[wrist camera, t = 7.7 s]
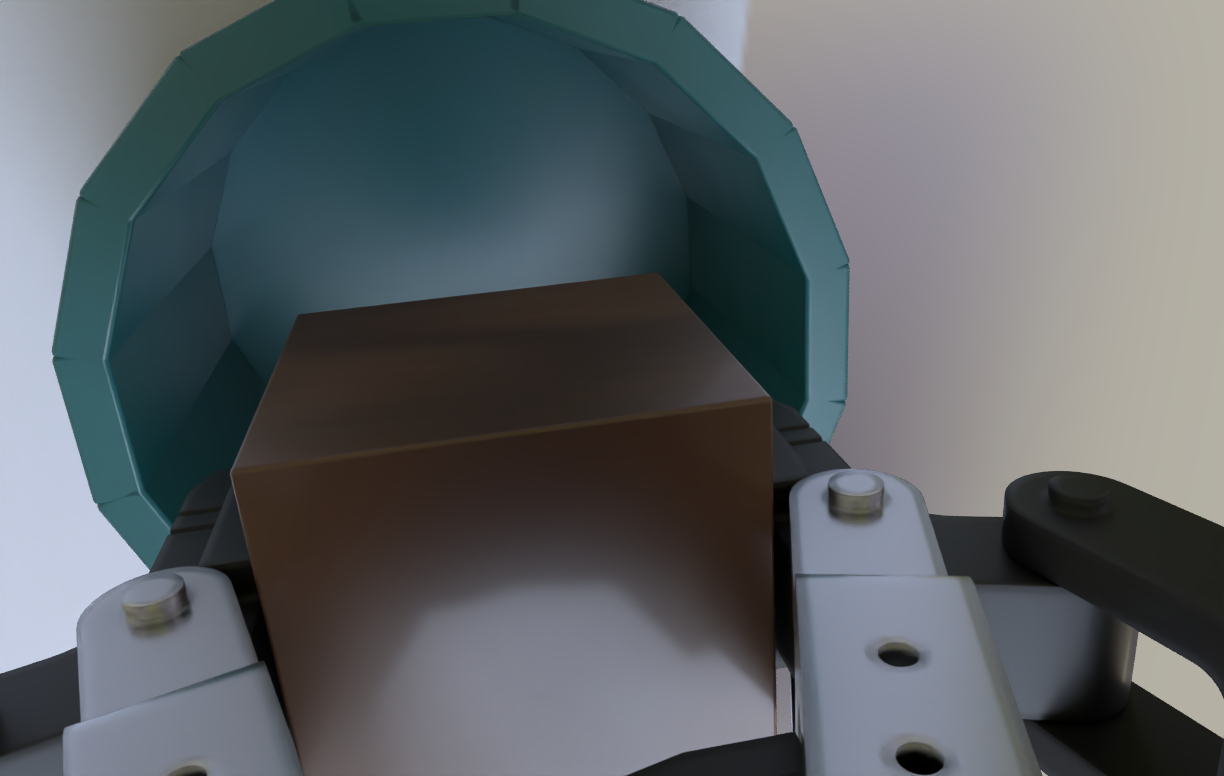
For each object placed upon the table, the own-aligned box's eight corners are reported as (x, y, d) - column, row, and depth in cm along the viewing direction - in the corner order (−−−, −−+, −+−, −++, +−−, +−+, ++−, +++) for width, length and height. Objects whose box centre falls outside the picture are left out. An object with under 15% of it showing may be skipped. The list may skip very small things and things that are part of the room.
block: (357, 626, 14) (327, 893, 10) (295, 313, 12) (228, 470, 8) (676, 575, 15) (779, 806, 10) (658, 271, 13) (773, 397, 9)
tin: (246, 529, 25) (167, 759, 17) (122, 0, 21) (-59, -7, 13) (721, 459, 27) (844, 641, 19) (705, -40, 22) (857, -70, 15)
